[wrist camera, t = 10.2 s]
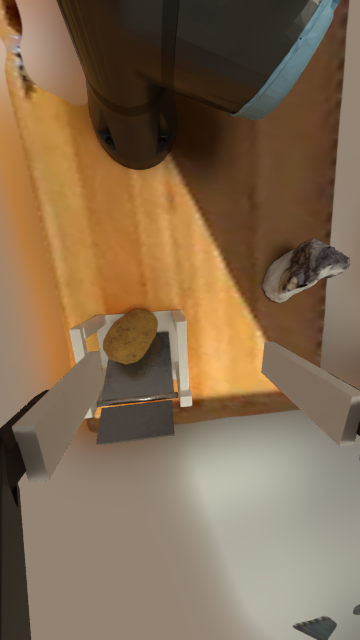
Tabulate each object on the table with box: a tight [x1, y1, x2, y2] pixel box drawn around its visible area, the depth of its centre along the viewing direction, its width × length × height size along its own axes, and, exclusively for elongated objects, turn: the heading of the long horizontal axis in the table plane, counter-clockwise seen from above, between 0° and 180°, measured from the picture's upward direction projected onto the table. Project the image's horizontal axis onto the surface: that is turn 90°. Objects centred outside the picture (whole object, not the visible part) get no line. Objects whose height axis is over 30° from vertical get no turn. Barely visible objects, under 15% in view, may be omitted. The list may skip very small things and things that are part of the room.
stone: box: [262, 238, 350, 303], centre depth 36 cm, size 14×10×15 cm
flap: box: [96, 332, 178, 445], centre depth 34 cm, size 20×14×4 cm
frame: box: [69, 310, 192, 418], centre depth 34 cm, size 18×20×14 cm
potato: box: [103, 309, 158, 364], centre depth 34 cm, size 9×13×7 cm
